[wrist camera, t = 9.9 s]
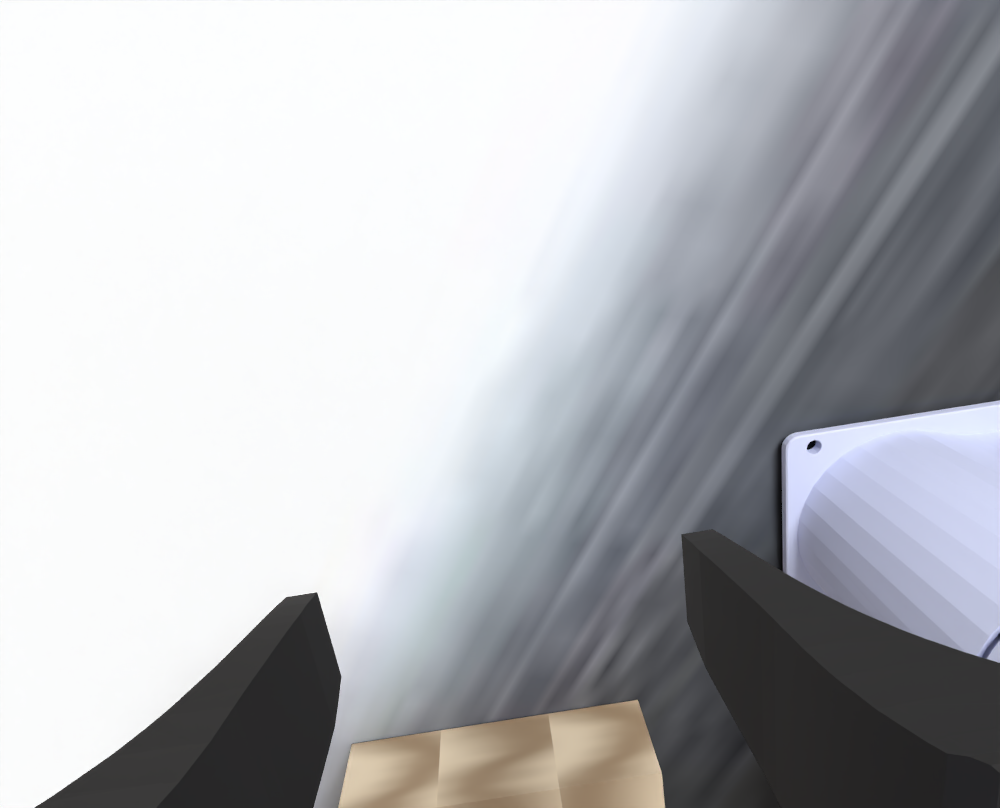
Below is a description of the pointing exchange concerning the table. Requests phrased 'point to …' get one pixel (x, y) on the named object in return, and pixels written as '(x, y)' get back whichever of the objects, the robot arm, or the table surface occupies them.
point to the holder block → (513, 764)
